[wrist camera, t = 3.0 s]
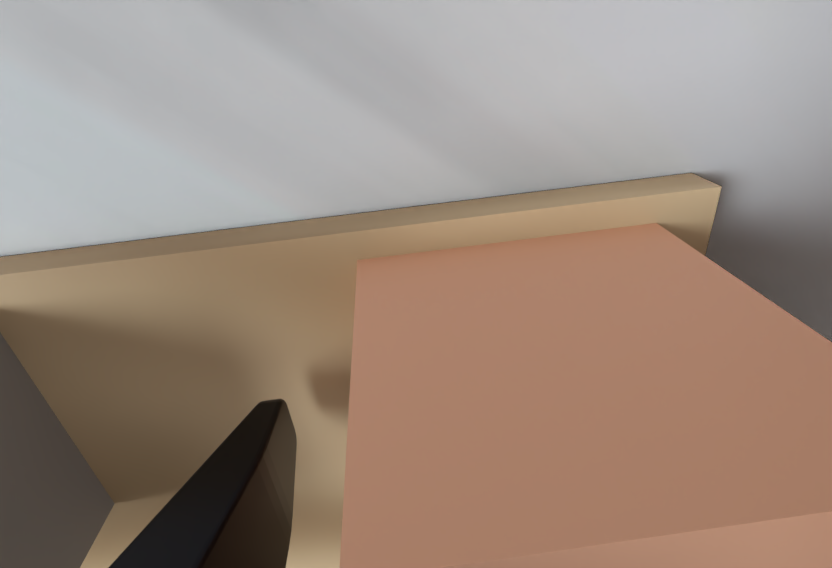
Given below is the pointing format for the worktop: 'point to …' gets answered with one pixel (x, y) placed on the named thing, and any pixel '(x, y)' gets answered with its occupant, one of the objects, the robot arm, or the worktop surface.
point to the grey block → (42, 480)
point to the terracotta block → (582, 411)
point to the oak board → (255, 335)
